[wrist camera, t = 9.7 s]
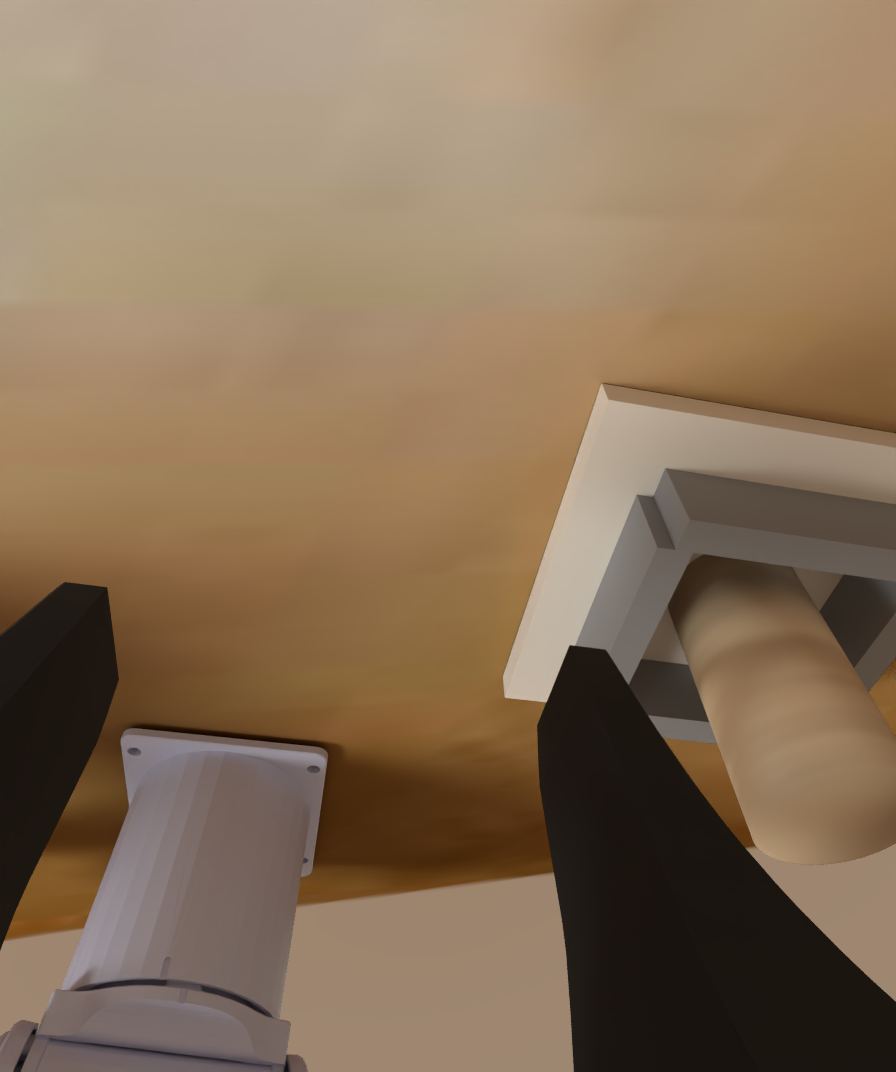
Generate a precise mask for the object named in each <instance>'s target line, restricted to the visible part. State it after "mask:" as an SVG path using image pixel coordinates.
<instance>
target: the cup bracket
mask: <svg viewBox="0 0 896 1072" xmlns="http://www.w3.org/2000/svg"><path fill="white" fill-rule="evenodd" d="M704 554H706V555H713V556H720V557H727V558H734V559H741V560H748V561H755V562H762V563H769V564H776V565H783V566H790V567H792V568H793V569H794V571H795V573H796V574H797V576H798V578H799V579H800V581H801V582H802V584H803V586H804V587H805V589H806V591H807V592H808V594H809V596H810V597H811V599H812V601H813V602H814V604H815V605H816V607H817V609H818V610H819V612H820V614H821V615H822V617H823V619H824V620H825V622H826V623H827V625H828V627H829V628H830V630H831V632H832V633H833V635H834V637H835V638H836V640H837V642H838V643H839V645H840V646H841V648H842V650H843V651H844V653H845V655H846V656H847V658H848V660H849V661H850V663H851V664H852V666H853V668H854V669H855V671H856V673H857V674H858V676H859V678H860V679H861V681H862V683H863V684H864V686H865V687H866V689H867V691H868V692H869V691H870V689H871V688H872V687H873V686H874V684H875V683H876V682H877V680H878V679H879V678H880V677H881V675H882V674H883V673H884V672H885V670H886V669H887V668H888V667H889V665H890V664H891V663H892V661H893V660H894V659H895V658H896V433H890V432H884V431H879V430H873V429H867V428H861V427H855V426H849V425H843V424H837V423H831V422H826V421H820V420H814V419H808V418H802V417H796V416H790V415H784V414H779V413H773V412H767V411H761V410H755V409H749V408H743V407H737V406H731V405H726V404H720V403H714V402H708V401H702V400H696V399H690V398H684V397H679V396H673V395H667V394H661V393H655V392H649V391H643V390H637V389H631V388H626V387H620V386H614V385H608V384H602V383H601V386H600V389H599V392H598V395H597V398H596V401H595V404H594V407H593V410H592V413H591V416H590V419H589V422H588V425H587V428H586V431H585V434H584V437H583V440H582V443H581V446H580V449H579V452H578V455H577V458H576V461H575V464H574V467H573V470H572V473H571V476H570V479H569V482H568V485H567V488H566V491H565V494H564V497H563V499H562V502H561V505H560V508H559V511H558V514H557V517H556V520H555V523H554V526H553V529H552V532H551V535H550V538H549V541H548V544H547V547H546V550H545V553H544V556H543V559H542V562H541V565H540V568H539V571H538V574H537V577H536V580H535V583H534V586H533V589H532V592H531V595H530V598H529V601H528V604H527V607H526V610H525V613H524V615H523V618H522V621H521V624H520V627H519V630H518V633H517V636H516V639H515V642H514V645H513V648H512V651H511V654H510V657H509V660H508V663H507V666H506V669H505V672H504V675H503V683H504V693H505V698H513V699H522V700H531V701H540V702H547V700H548V698H549V695H550V693H551V690H552V688H553V685H554V683H555V680H556V678H557V675H558V673H559V670H560V668H561V665H562V663H563V660H564V658H565V655H566V653H567V650H568V648H569V645H574V646H582V647H590V648H598V649H606V651H607V652H608V654H609V655H610V657H611V658H612V660H613V661H614V663H615V664H616V666H617V667H618V669H619V671H620V672H621V674H622V675H623V677H624V679H625V680H626V682H627V683H628V685H629V686H630V688H631V690H632V691H633V693H634V694H635V696H636V698H637V699H638V701H639V702H640V704H641V705H642V707H643V708H644V710H645V712H646V713H647V715H648V716H649V718H650V719H651V721H652V722H653V724H654V725H655V727H656V728H657V730H658V731H659V733H660V734H661V736H662V737H663V738H669V739H678V740H687V741H696V742H705V743H714V744H717V741H716V738H715V736H714V733H713V730H712V728H711V725H710V722H709V719H708V717H707V714H706V711H705V709H704V706H703V703H702V700H701V698H700V695H699V692H698V689H697V687H696V684H695V681H694V679H693V676H692V673H691V670H690V668H689V665H688V662H687V660H686V657H685V654H684V651H683V649H682V646H681V643H680V640H679V638H678V635H677V632H676V630H675V627H674V624H673V621H672V619H671V616H670V613H669V610H668V604H669V601H670V599H671V597H672V595H673V593H674V591H675V589H676V587H677V585H678V583H679V581H680V579H681V577H682V575H683V573H684V571H685V569H686V567H687V565H688V564H690V563H691V562H692V561H694V560H695V559H697V558H698V557H700V556H702V555H704Z"/></svg>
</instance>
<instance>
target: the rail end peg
mask: <svg viewBox="0 0 896 1072" xmlns="http://www.w3.org/2000/svg"><path fill="white" fill-rule="evenodd" d="M668 610H669V613H670V616H671V619H672V621H673V624H674V627H675V630H676V632H677V635H678V638H679V640H680V643H681V646H682V649H683V651H684V654H685V657H686V660H687V662H688V665H689V668H690V670H691V673H692V676H693V679H694V681H695V684H696V687H697V689H698V692H699V695H700V698H701V700H702V703H703V706H704V709H705V711H706V714H707V717H708V719H709V722H710V725H711V728H712V730H713V733H714V736H715V738H716V741H717V744H718V747H719V749H720V752H721V755H722V758H723V760H724V763H725V766H726V768H727V771H728V774H729V777H730V779H731V782H732V785H733V787H734V790H735V793H736V796H737V798H738V801H739V804H740V807H741V809H742V812H743V815H744V817H745V820H746V823H747V826H748V828H749V831H750V834H751V836H752V839H753V842H754V844H755V845H756V847H757V848H758V849H759V850H761V852H763V853H764V854H766V855H767V856H769V857H772V858H774V859H776V860H779V861H783V862H787V863H792V864H801V865H824V864H833V863H840V862H846V861H850V860H855V859H858V858H862V857H865V856H868V855H871V854H874V853H876V852H879V851H881V850H883V849H886V848H888V847H890V846H892V845H894V844H895V843H896V737H895V735H894V733H893V732H892V730H891V728H890V727H889V725H888V723H887V722H886V720H885V719H884V717H883V715H882V714H881V712H880V710H879V709H878V707H877V705H876V704H875V702H874V701H873V699H872V697H871V696H870V694H869V692H868V691H867V689H866V687H865V686H864V684H863V683H862V681H861V679H860V678H859V676H858V674H857V673H856V671H855V669H854V668H853V666H852V664H851V663H850V661H849V660H848V658H847V656H846V655H845V653H844V651H843V650H842V648H841V646H840V645H839V643H838V642H837V640H836V638H835V637H834V635H833V633H832V632H831V630H830V628H829V627H828V625H827V623H826V622H825V620H824V619H823V617H822V615H821V614H820V612H819V610H818V609H817V607H816V605H815V604H814V602H813V601H812V599H811V597H810V596H809V594H808V592H807V591H806V589H805V587H804V586H803V584H802V582H801V581H800V579H799V578H798V576H797V574H796V573H795V571H794V569H793V568H792V567H790V566H783V565H776V564H769V563H762V562H755V561H748V560H741V559H734V558H727V557H720V556H713V555H706V554H704V555H702V556H700V557H698V558H697V559H695V560H694V561H692V562H691V563H690V564H688V565H687V567H686V569H685V571H684V573H683V575H682V577H681V579H680V581H679V583H678V585H677V587H676V589H675V591H674V593H673V595H672V597H671V599H670V601H669V604H668Z"/></svg>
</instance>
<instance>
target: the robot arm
mask: <svg viewBox="0 0 896 1072" xmlns="http://www.w3.org/2000/svg"><path fill="white" fill-rule="evenodd" d="M118 680H119V678H118V670H117V662H116V654H115V646H114V638H113V630H112V622H111V614H110V606H109V598H108V590H107V587H100V586H92V585H84V584H75V583H67V582H65V583H63V584H62V585H60V586H59V587H57V588H56V589H55V590H54V591H53V592H51V593H50V594H49V595H48V596H46V597H45V598H44V599H43V600H42V601H40V602H39V603H38V604H37V605H36V606H34V607H33V608H32V609H31V610H30V611H28V612H27V613H26V614H25V615H24V616H23V617H21V618H20V619H19V620H18V621H17V622H15V623H14V624H13V625H12V626H11V627H9V628H8V629H7V630H6V631H4V632H3V633H2V634H1V635H0V949H1V947H2V944H3V942H4V939H5V936H6V934H7V931H8V929H9V926H10V923H11V921H12V918H13V916H14V913H15V911H16V908H17V906H18V904H19V902H20V899H21V897H22V895H23V893H24V890H25V888H26V886H27V884H28V882H29V879H30V877H31V875H32V873H33V871H34V869H35V867H36V865H37V863H38V861H39V859H40V857H41V855H42V853H43V851H44V849H45V847H46V845H47V843H48V841H49V839H50V837H51V835H52V833H53V831H54V829H55V827H56V825H57V823H58V821H59V819H60V817H61V815H62V813H63V811H64V809H65V807H66V805H67V803H68V801H69V799H70V797H71V795H72V793H73V791H74V789H75V786H76V784H77V782H78V780H79V778H80V776H81V774H82V772H83V770H84V768H85V766H86V764H87V762H88V760H89V758H90V756H91V754H92V751H93V749H94V747H95V745H96V743H97V741H98V738H99V735H100V733H101V730H102V727H103V724H104V722H105V719H106V716H107V713H108V710H109V707H110V704H111V701H112V698H113V695H114V692H115V689H116V686H117V683H118ZM537 733H538V761H539V779H540V790H541V796H542V803H543V809H544V815H545V821H546V827H547V834H548V840H549V845H550V851H551V857H552V863H553V869H554V875H555V881H556V887H557V893H558V899H559V905H560V910H561V916H562V923H563V931H564V938H565V947H566V955H567V970H568V982H569V997H570V1011H571V1026H572V1045H573V1063H574V1072H896V1002H895V1001H894V1000H893V999H892V998H891V997H890V996H889V995H888V994H887V993H885V992H884V991H883V990H882V989H881V988H880V987H879V986H878V985H877V984H876V983H874V982H873V981H872V980H871V979H870V978H869V977H868V976H867V975H866V974H865V973H864V972H863V971H862V970H861V969H860V968H858V967H857V966H856V965H855V964H854V963H853V962H852V961H851V960H850V959H849V958H848V957H847V956H846V955H845V954H844V953H843V952H842V951H841V950H840V949H839V948H838V947H837V946H836V945H835V944H834V943H833V942H832V941H831V940H830V939H829V938H828V937H827V936H826V935H825V934H824V933H823V932H822V931H821V930H820V929H819V928H818V927H817V926H816V925H815V924H814V923H813V922H812V921H811V920H810V919H809V918H808V917H807V916H806V915H805V914H804V913H803V912H802V911H801V910H800V909H799V908H798V907H797V906H796V905H795V904H794V902H793V901H792V900H791V899H790V898H789V897H788V896H787V895H786V894H785V893H784V892H783V891H782V890H781V888H780V887H779V886H778V885H777V884H776V883H775V882H774V881H773V880H772V878H771V877H770V876H769V875H768V874H767V873H766V872H765V870H764V869H763V868H762V867H761V866H760V865H759V863H758V862H757V861H756V860H755V859H754V858H753V857H752V855H751V854H750V853H749V852H748V851H747V850H746V849H745V847H744V846H743V845H742V844H741V843H740V841H739V840H738V839H737V838H736V837H735V835H734V834H733V833H732V832H731V831H730V829H729V828H728V827H727V826H726V824H725V823H724V822H723V820H722V819H721V818H720V817H719V815H718V814H717V813H716V811H715V810H714V809H713V807H712V806H711V805H710V803H709V802H708V801H707V800H706V798H705V797H704V796H703V794H702V793H701V792H700V790H699V789H698V787H697V786H696V785H695V783H694V782H693V781H692V779H691V778H690V776H689V775H688V774H687V772H686V771H685V769H684V768H683V766H682V765H681V764H680V762H679V761H678V759H677V758H676V756H675V755H674V753H673V752H672V751H671V749H670V748H669V746H668V745H667V743H666V742H665V740H664V739H663V737H662V736H661V734H660V733H659V731H658V730H657V728H656V727H655V725H654V724H653V722H652V721H651V719H650V718H649V716H648V715H647V713H646V712H645V710H644V708H643V707H642V705H641V704H640V702H639V701H638V699H637V698H636V696H635V694H634V693H633V691H632V690H631V688H630V686H629V685H628V683H627V682H626V680H625V679H624V677H623V675H622V674H621V672H620V671H619V669H618V667H617V666H616V664H615V663H614V661H613V660H612V658H611V657H610V655H609V654H608V652H607V651H606V649H598V648H590V647H582V646H574V645H569V648H568V650H567V653H566V655H565V658H564V660H563V663H562V665H561V668H560V670H559V673H558V675H557V678H556V680H555V683H554V685H553V688H552V690H551V693H550V695H549V698H548V700H547V703H546V705H545V708H544V710H543V712H542V715H541V717H540V720H539V722H538V725H537ZM120 742H121V750H122V757H123V765H124V772H125V780H126V787H127V795H128V802H129V810H128V812H127V815H126V818H125V820H124V823H123V826H122V828H121V831H120V834H119V836H118V839H117V842H116V844H115V847H114V850H113V852H112V855H111V858H110V860H109V863H108V866H107V868H106V871H105V874H104V876H103V879H102V882H101V884H100V887H99V890H98V892H97V895H96V898H95V900H94V903H93V906H92V908H91V911H90V914H89V916H88V919H87V922H86V924H85V927H84V930H83V933H82V935H81V938H80V941H79V943H78V946H77V949H76V951H75V954H74V957H73V959H72V962H71V965H70V967H69V970H68V973H67V975H66V978H65V981H64V983H63V986H62V989H61V990H59V989H58V990H54V991H53V992H52V995H51V998H50V1000H49V1003H48V1006H47V1008H46V1011H45V1013H44V1016H43V1019H42V1021H41V1024H40V1027H39V1029H38V1023H34V1022H30V1021H26V1020H21V1021H19V1022H17V1023H16V1024H14V1025H13V1027H12V1028H11V1030H10V1031H8V1032H6V1033H4V1034H3V1035H1V1036H0V1072H308V1070H307V1066H306V1063H305V1061H304V1060H303V1058H302V1057H300V1056H299V1055H286V1054H287V1047H288V1040H289V1033H290V1026H291V1023H290V1022H289V1021H285V1020H280V1019H279V1017H280V1010H281V1003H282V997H283V990H284V984H285V978H286V971H287V964H288V958H289V951H290V945H291V938H292V931H293V925H294V918H295V912H296V905H297V899H298V892H299V885H300V879H301V877H304V876H308V875H309V874H311V872H312V867H313V860H314V853H315V846H316V839H317V832H318V824H319V817H320V810H321V803H322V796H323V789H324V782H325V774H326V767H327V760H328V753H327V752H326V751H325V750H324V749H322V748H320V747H314V746H305V745H295V744H285V743H275V742H266V741H256V740H246V739H236V738H227V737H217V736H207V735H198V734H188V733H178V732H168V731H159V730H149V729H139V728H130V729H127V730H125V731H124V733H123V735H122V737H121V741H120ZM37 1029H38V1032H37Z"/></svg>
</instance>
